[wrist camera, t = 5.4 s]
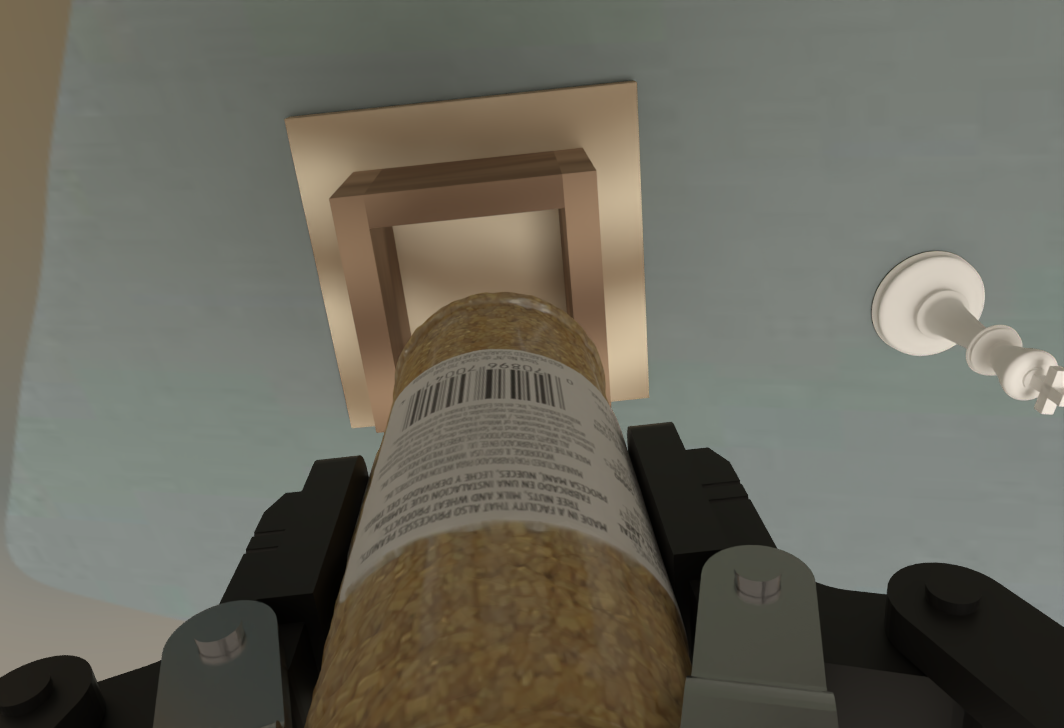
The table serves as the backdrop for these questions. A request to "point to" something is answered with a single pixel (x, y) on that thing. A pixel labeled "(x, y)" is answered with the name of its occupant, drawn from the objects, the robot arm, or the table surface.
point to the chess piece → (960, 326)
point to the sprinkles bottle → (502, 544)
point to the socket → (475, 223)
